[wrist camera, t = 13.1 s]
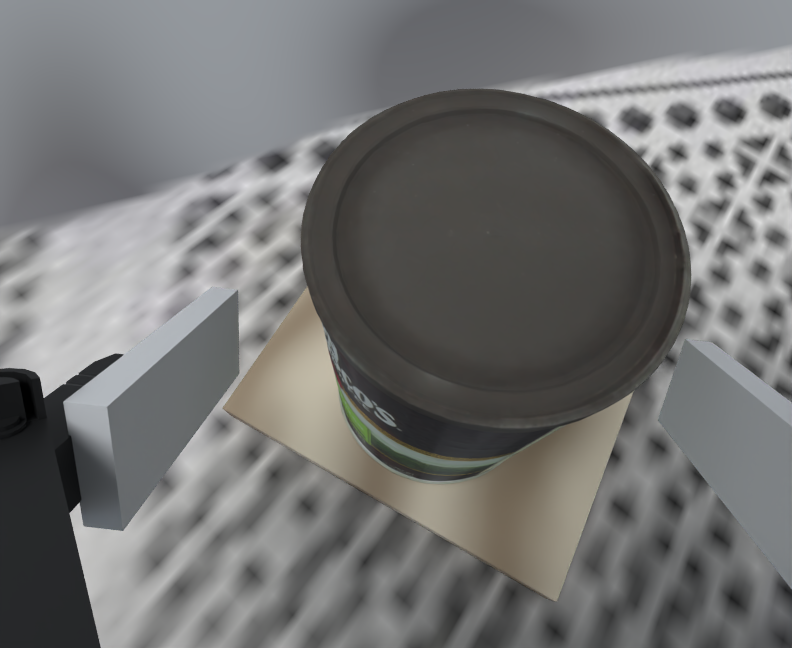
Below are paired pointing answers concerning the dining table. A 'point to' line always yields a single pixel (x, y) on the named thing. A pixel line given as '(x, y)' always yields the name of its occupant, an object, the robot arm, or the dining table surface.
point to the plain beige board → (435, 503)
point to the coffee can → (488, 277)
